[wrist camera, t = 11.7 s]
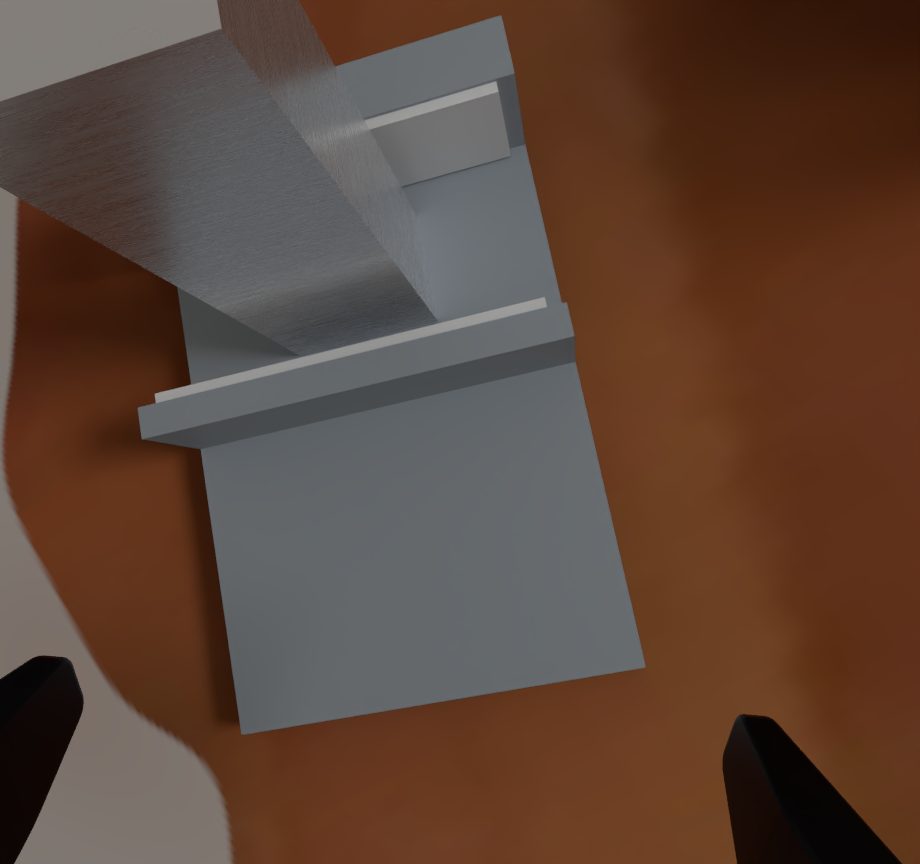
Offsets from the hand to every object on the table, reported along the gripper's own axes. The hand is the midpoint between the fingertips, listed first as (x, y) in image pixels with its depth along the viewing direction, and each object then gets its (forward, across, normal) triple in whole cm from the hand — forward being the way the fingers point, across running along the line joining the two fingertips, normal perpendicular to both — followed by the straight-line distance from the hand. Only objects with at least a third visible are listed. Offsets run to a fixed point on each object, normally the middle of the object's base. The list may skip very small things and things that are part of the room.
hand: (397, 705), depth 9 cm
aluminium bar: (+15, +3, -1) cm, 15 cm away
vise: (+13, +2, +2) cm, 14 cm away
